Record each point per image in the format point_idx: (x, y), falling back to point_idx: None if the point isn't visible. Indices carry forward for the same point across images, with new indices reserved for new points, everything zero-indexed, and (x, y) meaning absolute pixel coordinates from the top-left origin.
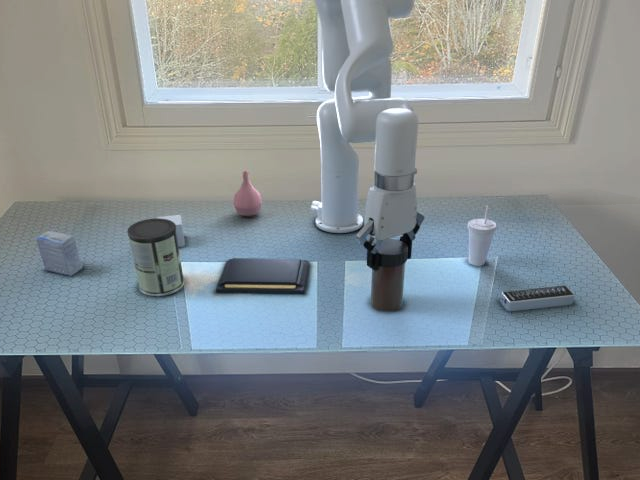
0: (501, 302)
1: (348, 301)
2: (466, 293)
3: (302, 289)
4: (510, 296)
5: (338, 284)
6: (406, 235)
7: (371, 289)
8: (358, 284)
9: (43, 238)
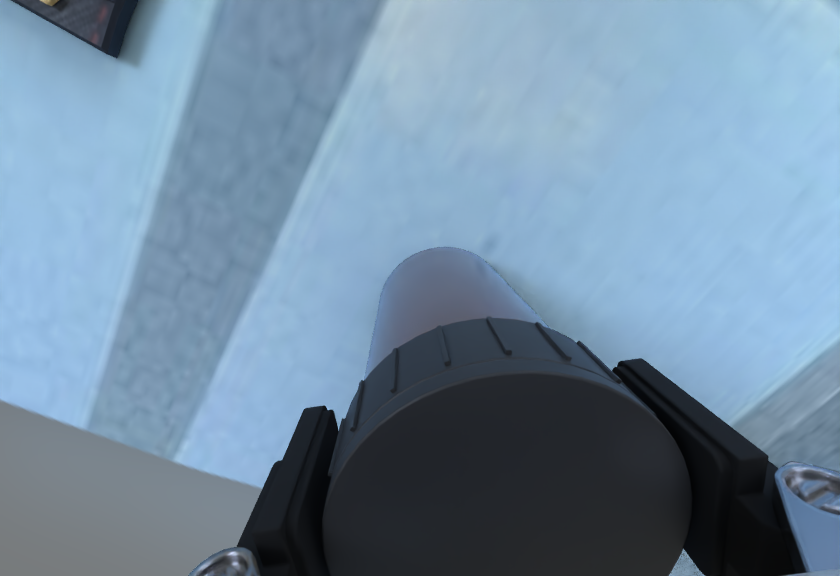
0: None
1: (306, 226)
2: (744, 378)
3: (100, 36)
4: None
5: (327, 52)
6: (786, 569)
7: (376, 318)
8: (418, 105)
9: None
